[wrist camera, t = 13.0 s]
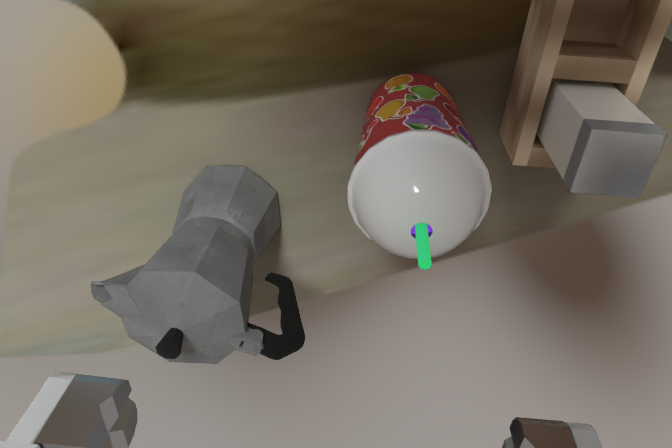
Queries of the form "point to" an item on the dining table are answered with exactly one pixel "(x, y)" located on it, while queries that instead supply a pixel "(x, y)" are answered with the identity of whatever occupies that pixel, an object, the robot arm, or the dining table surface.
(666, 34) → the tray
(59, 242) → the dining table surface
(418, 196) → the smoothie
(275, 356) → the coffeepot
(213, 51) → the dining table surface
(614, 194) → the block
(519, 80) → the socket strip
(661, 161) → the dining table surface
